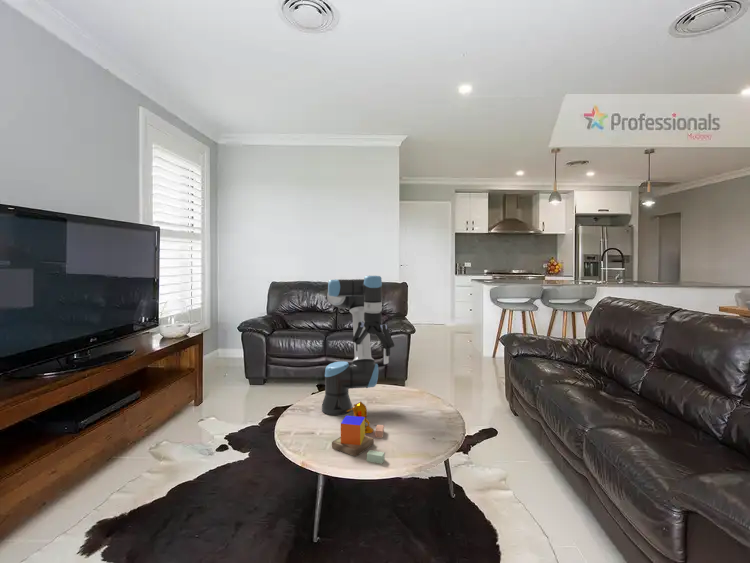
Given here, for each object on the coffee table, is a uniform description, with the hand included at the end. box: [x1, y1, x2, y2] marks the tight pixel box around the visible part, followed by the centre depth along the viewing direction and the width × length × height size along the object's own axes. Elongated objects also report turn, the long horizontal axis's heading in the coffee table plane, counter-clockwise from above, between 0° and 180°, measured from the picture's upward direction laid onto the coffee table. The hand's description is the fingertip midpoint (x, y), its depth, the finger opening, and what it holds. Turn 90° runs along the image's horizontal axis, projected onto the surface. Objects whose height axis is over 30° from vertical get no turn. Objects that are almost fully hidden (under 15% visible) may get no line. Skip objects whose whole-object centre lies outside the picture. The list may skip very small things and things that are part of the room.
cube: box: [340, 415, 366, 445], centre depth 157 cm, size 8×8×8 cm
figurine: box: [347, 401, 375, 435], centre depth 171 cm, size 8×11×12 cm
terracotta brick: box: [375, 424, 385, 439], centre depth 168 cm, size 6×3×3 cm, turn 175°
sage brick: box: [366, 449, 385, 464], centre depth 146 cm, size 6×3×3 cm, turn 71°
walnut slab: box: [331, 435, 375, 457], centre depth 157 cm, size 12×12×3 cm
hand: (372, 361), depth 167 cm, fingers open, 13 cm apart
